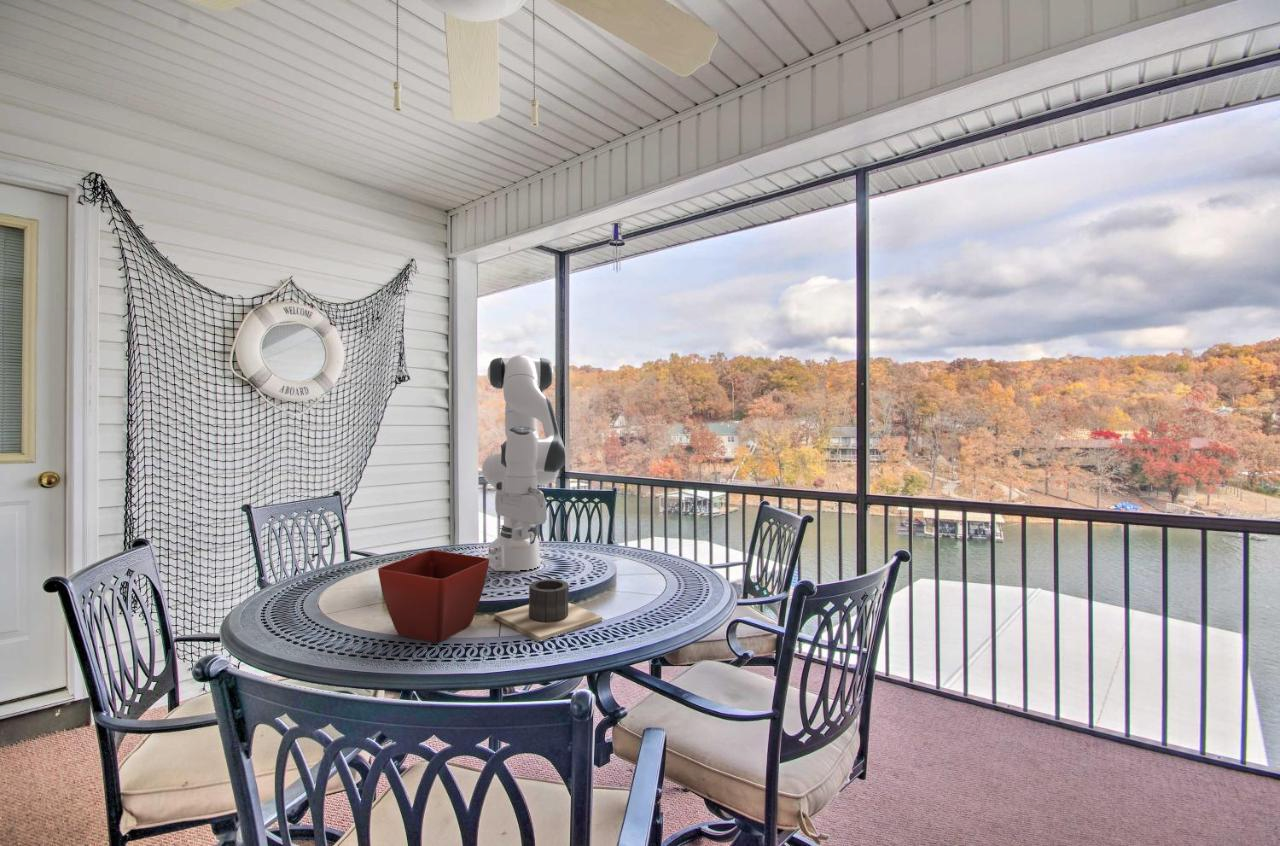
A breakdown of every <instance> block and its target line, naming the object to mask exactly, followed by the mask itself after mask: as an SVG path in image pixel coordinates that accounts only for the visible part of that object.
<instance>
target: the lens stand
mask: <svg viewBox="0 0 1280 846" xmlns="http://www.w3.org/2000/svg"><path fill="white" fill-rule="evenodd" d="M569 589H570V586H569V583H568V582H566V581H564V580H561V579H556V578H555V579H553V578H552V579H550V578H548V579H539V580H536V581H535V580H534V581H533V582H531V583H530V584H529V589H528V604H525V605H521V606H519V607H515V608H511V609H508V610H503V611H500V612H496V613H494V617H493V619H494V620H496V621H498V622H501V623H502V624H503V625H506V626H508V627H510V628H512V629H514V630H516V631H517V632H519V633H521V634H523V635H525V636H528V637H530V638H531V639H533V640H535V639H536V640H535V641H537V640H538V641H537V642H539V641H541V640H544V641H546V640H545V639H547V638H550V637H553V636H555V635H559V634H562V633H565V632H568V633H570V632H569V631H571V632H573V631H572V630H574V631H576V630H575V629H577V630H580V629H583V628H586V627H589V626H591V625H595V624H598V623H601V622H603V616H601V615H599V614H597V613H595V612H592V611H590V610H588V609H585V608H582V607H580V606H578V605H575V604H573V603H571V602H569V595H570V594H569V592H570V591H569ZM579 628H580V629H579ZM565 634H566V633H565ZM562 635H563V634H562ZM559 636H560V635H559ZM553 638H554V637H553ZM550 639H551V638H550ZM547 640H548V639H547ZM541 642H542V641H541Z"/></svg>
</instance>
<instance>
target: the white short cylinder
mask: <svg viewBox="0 0 1280 846" xmlns="http://www.w3.org/2000/svg"><path fill="white" fill-rule="evenodd" d="M521 529H522V527H520V528H513V529H512V538H510V539H509V547H510V548H514V549H523V548H528V547H530V538H528V536H527V537H520V536H519V534H520V533H519V530H521Z"/></svg>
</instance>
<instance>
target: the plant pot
mask: <svg viewBox="0 0 1280 846" xmlns="http://www.w3.org/2000/svg"><path fill="white" fill-rule="evenodd" d="M483 557H484V556H483ZM483 557H482V556H476V555H469V554H462V553H455V552H448V551H441V550H437V549H429V550H425V551H423V552H421V553H420V552H419V553H417V554H414V555H411V556H409V557H406V558H404V559H401V560H397V561H395V562H394V561H393V562H391V563H389V564H386V565H383V566H380V567H378V568H377V572H378V578H379V583H380V588H381V593H382V596H383V600H384V603H385V605H386V608H387V612H388V615H389V617H390V619H391V621H392V624H393V627H394V629H395V632H396V634H397V635H399V636H403V637H409V638H412V639H418V640H422V641H426V642H432V643H436V644H437V643H441V642H443V641H445V640H446V639H448V638H450V637H452V636H453V635H455V634H457V633H458V632H460V631H462V630H464V629H465V628H467V627H469V626H470V625H472V622H473V619H474V617H475V614H476V612H477V609H478V606H479V604H480V600H481V597H482V594H483V591H484V586H485V582H486V579H487V574H488V570H489V569H488V568H489V566H488V565H489V559H488V558H483Z"/></svg>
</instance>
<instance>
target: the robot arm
mask: <svg viewBox="0 0 1280 846" xmlns="http://www.w3.org/2000/svg"><path fill="white" fill-rule="evenodd" d="M487 377H488V381H489V382H490V383H489V384H490V385H491V386H492V387H493V388H495V389H500V390H503V391H502V392H503V398H504V401H505V408H504V411H505V412H504V433H505V437H506V441H504V442H503V443H502V444H501V445H500V450H501V451H500V453H496V454H491V455H488V456H487V457H486V458H485V460H484V461H483V464H482V466H481V467H482V468H481V473H482V477H483V479H484V480H485V482H487V483H488V484H489V485H490V486H492V487H493V488H494V489H495V490H496V492H495V494H494V495H495V497H494V498H495V499H494V500H495V502H494V503H495V505H494V506H495V508H494V509H495V512H496V514H497V516H501V517H503V524H501V525H499V530H500V534H499V536H498V537H497V538H495V539H494V540H493V541H492V542H491V543H490V544H489V545H488V554H487V555H485V556H483V558H488V559H489V565H488V568H490V569H492V570H494V571H495V572H505V571H506V572H521V571H520V570H527V571H530V570H529V569H532V570H535V569H534V568H536V569H538V568H540V567H541V563H542V562H543V558H542V557H541V552H540V551H541V550H540V549H541V548H540V539H539V538H538V531H539V529H538V528H539V527H538V525H543V524H546V521H547V519H548V515H547V502H546V498H545V495H544V492H542V490H541V489H540V488H538V486H541V485H542V486H543V485H547V484H550V483H554V482H555V480H557V478H558V476H559V473H560V470H561V469H562V468H563V467H564V466H565V465H566V460H567V451H566V448H565V445H564V441H563V439H562V437H561V433H560V429H559V426H558V422H557V416H556V415H555V411H554V407H553V404H552V402H551V399H550V398H549V397H548V396H546V395H544V393H543V391H545V390H547V389H548V388H550V387H551V385H552V383H553V380H554V378H555V368H554V365H553V363H552V362H551V360H549V359H547V358H543V357H540V358H538V357H530V356H528V355H525V354H517V355H514V356H512V357H496V358H494V359H492V360H491V361H490V364H489V365H488V368H487ZM538 421H539V422H540V423H541V424H542V428H543V432H544V436H545V437H540V435H539V427H538ZM520 527H522V529H521V530H519V533H520V534H519V536H520V537H527V536H528V538H530V547H528V548H523V549H514V548H510V547H509V539H510V538H512V529H513V528H520ZM537 567H538V568H537Z"/></svg>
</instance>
